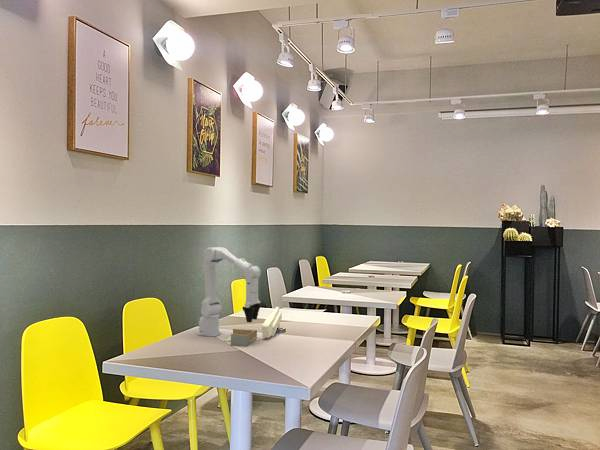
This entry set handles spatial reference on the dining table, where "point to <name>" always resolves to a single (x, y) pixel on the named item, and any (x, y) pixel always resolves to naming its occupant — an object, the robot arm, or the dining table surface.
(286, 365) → the dining table surface
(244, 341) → the angle bracket
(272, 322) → the shelf bracket
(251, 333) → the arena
